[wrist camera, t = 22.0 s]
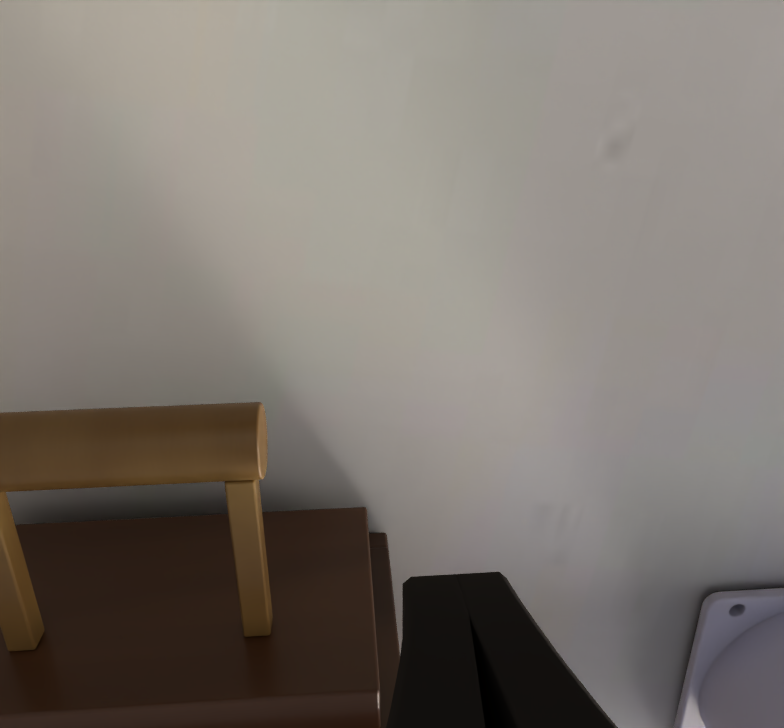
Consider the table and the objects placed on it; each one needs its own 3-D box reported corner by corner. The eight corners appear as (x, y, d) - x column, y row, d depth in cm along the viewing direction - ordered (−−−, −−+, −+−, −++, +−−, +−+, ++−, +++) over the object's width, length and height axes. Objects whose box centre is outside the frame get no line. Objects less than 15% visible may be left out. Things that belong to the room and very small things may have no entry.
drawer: (-68, 334, 17) (-268, 485, 11) (361, 320, 18) (375, 455, 12) (80, 826, 25) (6, 1060, 19) (374, 803, 25) (386, 1022, 20)
